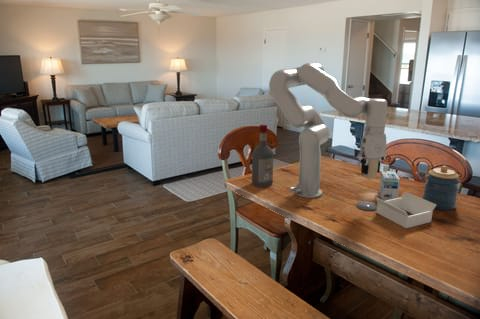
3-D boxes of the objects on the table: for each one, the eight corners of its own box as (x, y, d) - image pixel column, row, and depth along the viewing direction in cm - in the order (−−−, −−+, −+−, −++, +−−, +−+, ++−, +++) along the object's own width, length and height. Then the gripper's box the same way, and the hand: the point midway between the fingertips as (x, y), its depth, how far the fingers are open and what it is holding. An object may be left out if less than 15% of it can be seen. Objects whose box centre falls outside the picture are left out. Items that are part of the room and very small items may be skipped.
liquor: (275, 184, 182) (276, 125, 173) (260, 188, 177) (261, 127, 168) (264, 179, 189) (265, 122, 180) (249, 183, 184) (250, 124, 175)
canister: (416, 198, 164) (422, 161, 159) (445, 198, 164) (452, 161, 159) (430, 210, 152) (436, 170, 147) (461, 211, 151) (469, 170, 146)
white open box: (402, 229, 136) (405, 211, 134) (373, 213, 149) (375, 197, 147) (433, 221, 142) (436, 204, 140) (402, 206, 156) (405, 191, 154)
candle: (379, 176, 152) (381, 153, 149) (373, 179, 148) (375, 156, 145) (366, 173, 156) (369, 151, 153) (360, 176, 152) (362, 153, 149)
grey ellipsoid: (365, 211, 151) (366, 210, 151) (352, 204, 158) (352, 203, 158) (380, 208, 154) (380, 206, 154) (367, 201, 161) (367, 200, 161)
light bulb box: (397, 201, 161) (400, 178, 158) (381, 200, 162) (384, 177, 159) (393, 192, 171) (395, 171, 168) (378, 191, 172) (380, 170, 169)
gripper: (364, 133, 140) (360, 178, 145) (397, 129, 146) (392, 172, 151) (351, 130, 146) (347, 172, 151) (383, 126, 153) (379, 167, 158)
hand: (370, 172), depth 151 cm, fingers closed on candle, 5 cm apart
